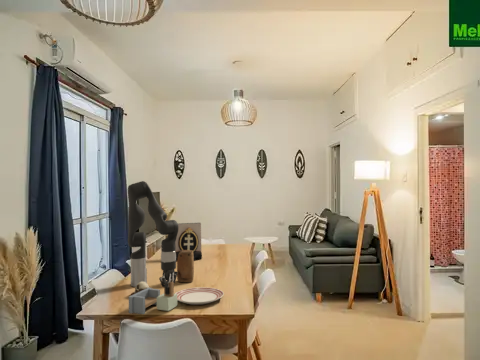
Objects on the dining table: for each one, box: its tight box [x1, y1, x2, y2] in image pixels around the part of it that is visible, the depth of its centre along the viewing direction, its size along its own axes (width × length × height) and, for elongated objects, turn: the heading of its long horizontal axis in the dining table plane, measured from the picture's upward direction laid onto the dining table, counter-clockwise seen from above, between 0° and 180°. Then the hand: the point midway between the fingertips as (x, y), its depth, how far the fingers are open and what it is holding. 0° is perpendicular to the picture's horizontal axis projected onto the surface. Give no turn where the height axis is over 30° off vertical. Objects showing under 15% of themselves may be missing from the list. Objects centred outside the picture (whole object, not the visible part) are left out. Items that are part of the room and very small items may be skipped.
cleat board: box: [128, 287, 161, 315], centre depth 179 cm, size 8×16×8 cm, turn 158°
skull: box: [130, 282, 150, 296], centre depth 201 cm, size 12×10×10 cm
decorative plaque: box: [175, 222, 203, 262], centre depth 290 cm, size 21×11×30 cm, turn 104°
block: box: [176, 250, 195, 283], centre depth 226 cm, size 11×8×20 cm
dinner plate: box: [174, 286, 225, 306], centre depth 192 cm, size 27×27×3 cm
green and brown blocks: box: [156, 282, 178, 312], centre depth 178 cm, size 7×8×13 cm
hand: (168, 293), depth 177 cm, fingers closed on green and brown blocks
